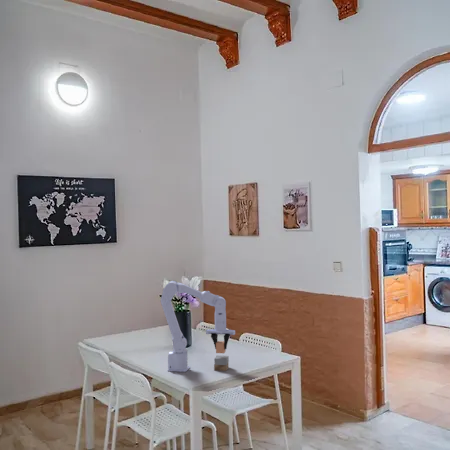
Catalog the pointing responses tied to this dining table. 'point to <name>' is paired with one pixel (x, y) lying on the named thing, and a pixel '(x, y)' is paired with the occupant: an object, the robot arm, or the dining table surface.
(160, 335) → the dining table surface
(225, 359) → the slate slab
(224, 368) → the walnut slab
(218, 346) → the tan clay cube
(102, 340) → the dining table surface
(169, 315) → the robot arm
